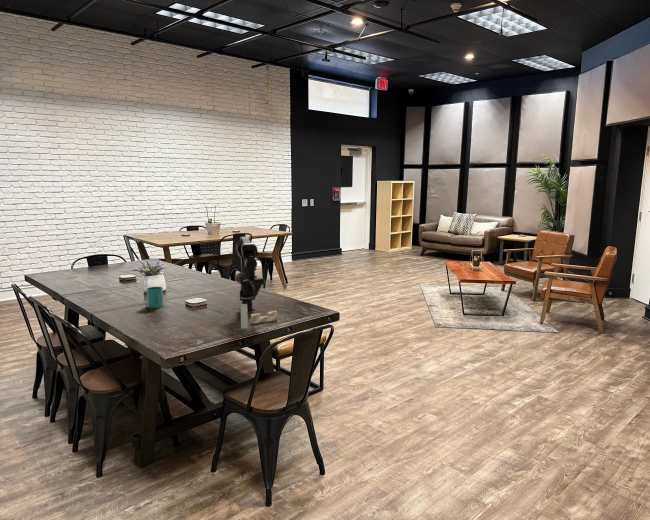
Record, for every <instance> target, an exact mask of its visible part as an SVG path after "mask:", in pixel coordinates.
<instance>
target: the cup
mask: <svg viewBox="0 0 650 520" xmlns="http://www.w3.org/2000/svg"><path fill="white" fill-rule="evenodd" d="M146 299H147V300H146V302H147V303H146V304H147V308H149V309H160V308H163V307H164V306H165V305H164V304H165V303H164V302H165V301H164V287H162V286H150V287H147V288H146Z"/></svg>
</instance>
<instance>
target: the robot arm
mask: <svg viewBox="0 0 650 520" xmlns="http://www.w3.org/2000/svg"><path fill="white" fill-rule="evenodd" d="M235 246H236V247H235V250H236V252H237V256H238V257H239V258H240V265H241V266H240V267H241V272H239V273H237V274H235V275H234V279H235V282H237V283H238V284H239V285H240V288H239V292H238V300H239V301H240V302H241V304H247V312H250V311H253V310H254V311H255V309H256V308H253V301H254V300H255V299H256V297H257V296H258V293H259V291H260V289H261V287H262V286H263V285H264V284H265V279H264V278H263V277H258V276H257V275H256V271H257V266H258V262H257V260H256V259H255V257H258V255H259V250H258V246H257V245H256V244H255V243H254V242H252V241H251V240H250V237H249V236H240V238H239V240H238V241H236V245H235ZM239 311H241V308H239Z"/></svg>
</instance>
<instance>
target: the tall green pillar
mask: <svg viewBox="0 0 650 520" xmlns="http://www.w3.org/2000/svg"><path fill="white" fill-rule="evenodd" d="M240 309H241V310H240V329H241V330H243V329H244V330H246V329H248V324H249V323H248V322H249V320H248V319H249V317H248V316H249V315H248V311H247V304H242V303H241V305H240Z"/></svg>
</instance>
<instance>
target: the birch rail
mask: <svg viewBox="0 0 650 520" xmlns="http://www.w3.org/2000/svg"><path fill="white" fill-rule="evenodd" d="M273 321H278V311H277V310H272V311H268V312H267V315H265V316H264V315H263V316H261V313H258V312H257V313H251V314H250V322H251V324H260V323H266V322H273Z"/></svg>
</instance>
